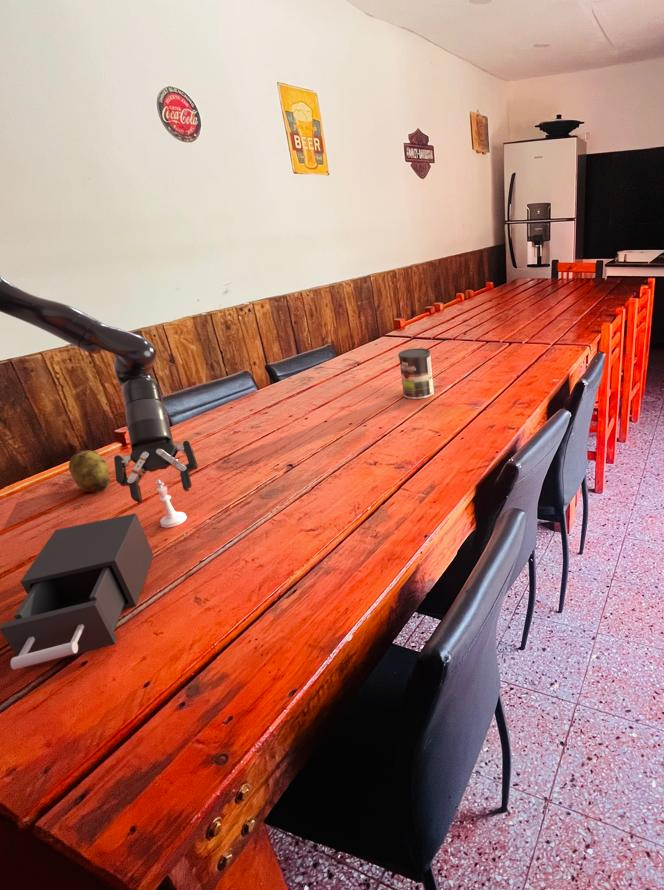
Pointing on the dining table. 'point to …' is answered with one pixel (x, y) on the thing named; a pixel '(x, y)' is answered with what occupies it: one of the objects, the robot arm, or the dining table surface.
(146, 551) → the small drawer cabinet
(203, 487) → the dining table surface
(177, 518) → the chess piece
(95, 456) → the potato
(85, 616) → the dark grey drawer
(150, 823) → the dining table surface
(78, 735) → the dining table surface
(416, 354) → the coffee can
